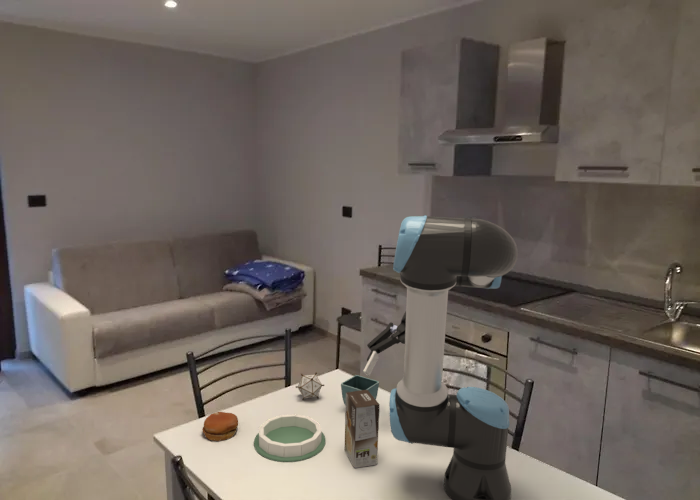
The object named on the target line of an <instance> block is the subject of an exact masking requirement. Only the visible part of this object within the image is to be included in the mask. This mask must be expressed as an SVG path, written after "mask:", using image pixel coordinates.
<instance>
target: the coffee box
mask: <svg viewBox="0 0 700 500" xmlns="http://www.w3.org/2000/svg"><path fill="white" fill-rule="evenodd" d="M344 413H345V418H344V419H345V421H344V452H345V454H346V455H347V457H348V459H349V461H350V463H351V464H352V466H353V468H354V469H358V468H363V467H364V468H365V467H368V466H369V467H370V466H376V465H377V464H378V449H379V448H378V447H379V423H380V422H379V421H380V403H379V402H378V400H377V399H376V400H375V398H374V397H373V396H372V395H371V393H370V392H369V391H368V390H360V391H353V392H346V406H345V411H344Z"/></svg>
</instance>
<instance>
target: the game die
mask: <svg viewBox="0 0 700 500" xmlns="http://www.w3.org/2000/svg"><path fill="white" fill-rule="evenodd" d="M317 374H318V372H317V371H316V372H315V373H314V374H306V375H304V374H303V373H300V376H301V378H300V379H299V383H298V385H296V386H295V389H298V391H299V392H300V394H301V396H302V401H305V399H309V398H310V399H312V398H316V399H318V400H319V399H320V398H319V397H320V396H319V393H320V391H321V389H322V387H324V386H325V384H322V382H321V381H320V379H319V377H318V375H317Z"/></svg>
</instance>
